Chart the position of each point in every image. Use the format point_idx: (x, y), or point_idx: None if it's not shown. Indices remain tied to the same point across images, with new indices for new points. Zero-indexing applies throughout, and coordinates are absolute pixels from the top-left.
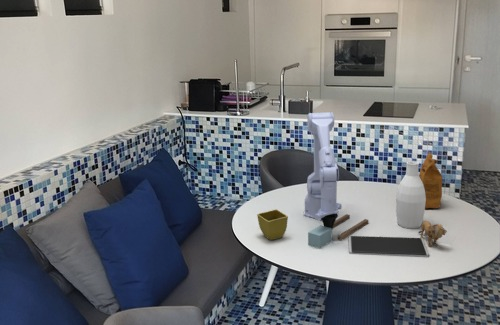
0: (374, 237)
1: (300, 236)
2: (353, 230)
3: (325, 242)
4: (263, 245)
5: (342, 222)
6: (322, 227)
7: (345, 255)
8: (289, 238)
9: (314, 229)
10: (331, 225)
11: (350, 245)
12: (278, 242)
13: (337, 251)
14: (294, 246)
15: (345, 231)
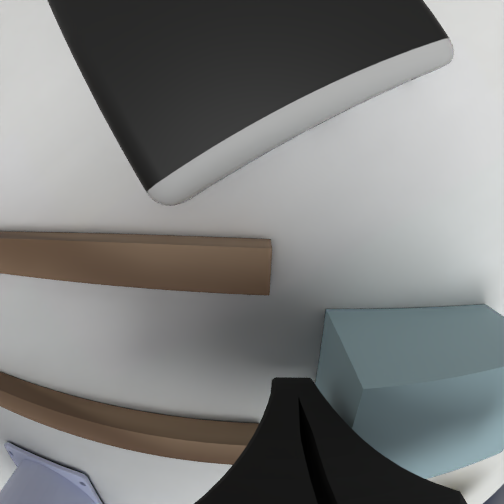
0: (79, 5)
1: None
2: (41, 236)
3: (432, 315)
4: (488, 480)
5: (9, 375)
6: None
7: (483, 79)
8: None
9: (448, 466)
10: (323, 432)
11: (372, 74)
12: (457, 478)
13: (473, 158)
14: None
15: (118, 278)
